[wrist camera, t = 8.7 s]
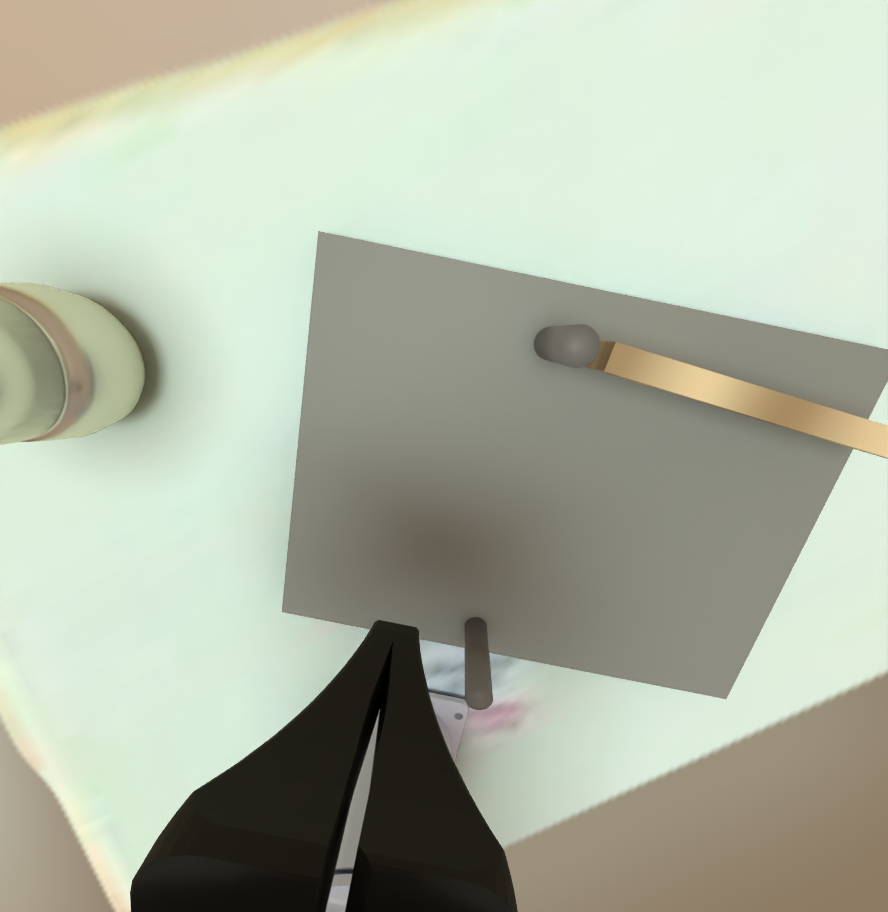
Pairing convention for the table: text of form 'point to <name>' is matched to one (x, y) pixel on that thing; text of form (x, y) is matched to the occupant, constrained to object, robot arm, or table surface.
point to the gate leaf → (741, 397)
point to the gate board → (550, 470)
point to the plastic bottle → (62, 365)
